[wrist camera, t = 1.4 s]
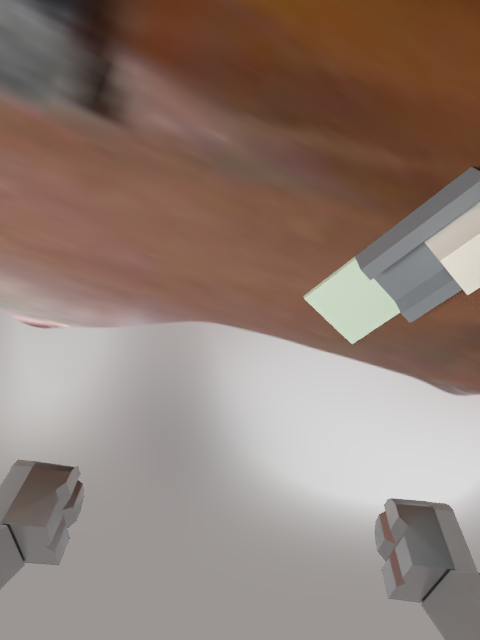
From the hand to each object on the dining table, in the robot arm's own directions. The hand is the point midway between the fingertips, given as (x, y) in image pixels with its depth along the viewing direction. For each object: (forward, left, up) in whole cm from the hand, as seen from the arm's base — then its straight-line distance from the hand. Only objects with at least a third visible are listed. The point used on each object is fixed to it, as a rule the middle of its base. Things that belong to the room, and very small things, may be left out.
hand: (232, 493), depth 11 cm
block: (-10, +18, -33) cm, 39 cm away
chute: (-4, +18, -33) cm, 38 cm away
